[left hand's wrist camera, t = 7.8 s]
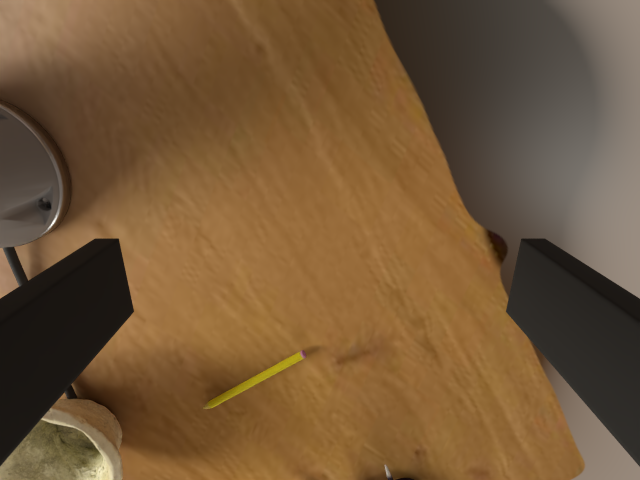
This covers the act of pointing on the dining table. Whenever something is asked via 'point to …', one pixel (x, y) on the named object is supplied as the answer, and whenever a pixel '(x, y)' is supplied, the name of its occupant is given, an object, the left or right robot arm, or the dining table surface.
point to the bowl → (69, 445)
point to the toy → (391, 476)
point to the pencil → (255, 379)
